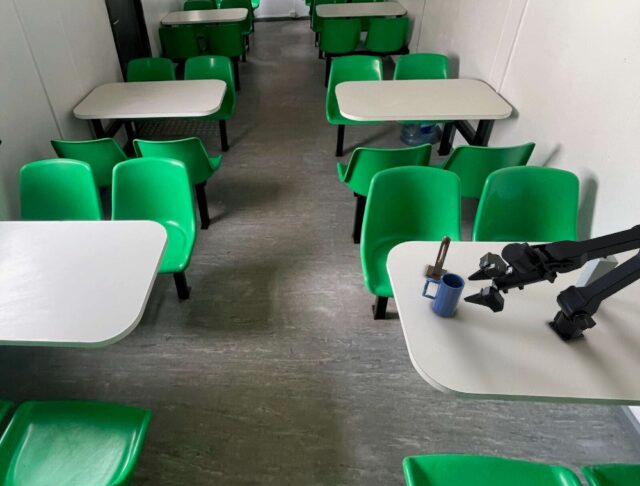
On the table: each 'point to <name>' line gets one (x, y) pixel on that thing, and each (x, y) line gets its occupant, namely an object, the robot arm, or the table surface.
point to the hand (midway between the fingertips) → (466, 289)
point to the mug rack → (439, 261)
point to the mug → (446, 293)
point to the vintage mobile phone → (596, 270)
